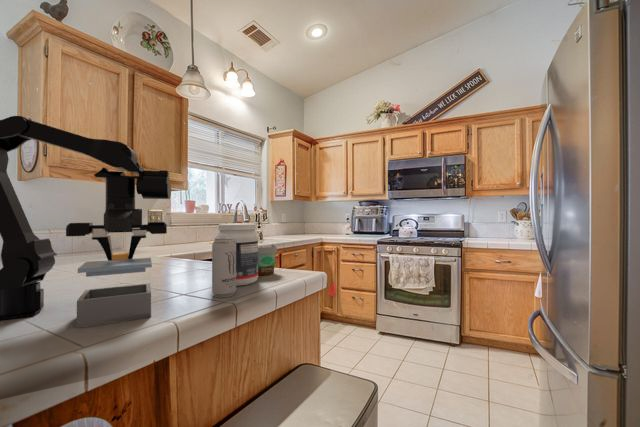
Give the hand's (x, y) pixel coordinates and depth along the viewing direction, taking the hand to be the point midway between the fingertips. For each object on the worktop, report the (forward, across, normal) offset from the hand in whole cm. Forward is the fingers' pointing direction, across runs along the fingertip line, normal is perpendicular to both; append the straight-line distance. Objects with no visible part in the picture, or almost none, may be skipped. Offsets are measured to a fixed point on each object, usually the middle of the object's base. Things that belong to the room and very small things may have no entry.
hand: (120, 266), depth 69 cm
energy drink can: (+10, +23, -2) cm, 25 cm away
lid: (0, 0, -5) cm, 5 cm away
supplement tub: (+10, +30, +11) cm, 33 cm away
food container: (+10, +42, +18) cm, 47 cm away
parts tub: (+9, 0, -7) cm, 12 cm away
